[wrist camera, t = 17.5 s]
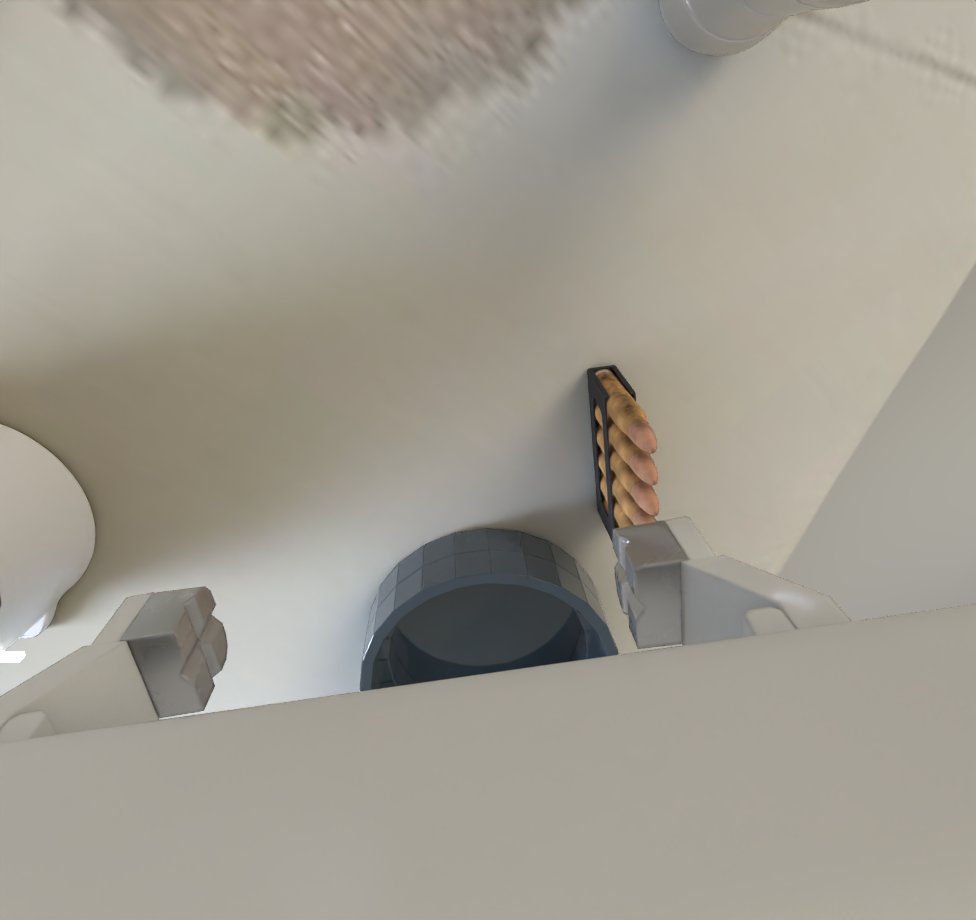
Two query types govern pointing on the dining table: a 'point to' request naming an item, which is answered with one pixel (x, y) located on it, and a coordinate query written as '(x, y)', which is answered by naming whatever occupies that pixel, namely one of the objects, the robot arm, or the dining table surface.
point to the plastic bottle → (732, 21)
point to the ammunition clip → (621, 452)
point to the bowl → (481, 611)
